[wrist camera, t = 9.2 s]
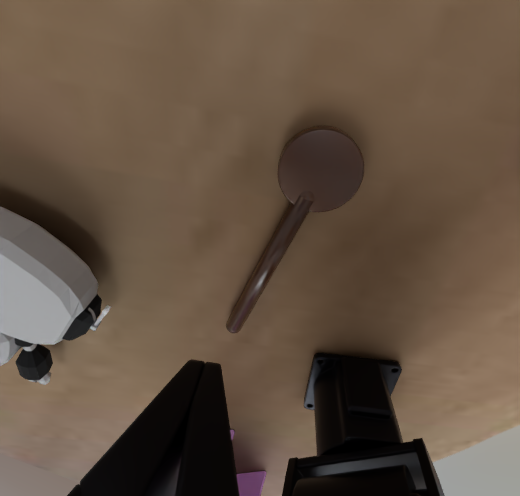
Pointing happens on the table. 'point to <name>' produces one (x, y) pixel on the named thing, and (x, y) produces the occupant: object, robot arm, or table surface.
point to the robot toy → (41, 295)
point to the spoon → (304, 198)
